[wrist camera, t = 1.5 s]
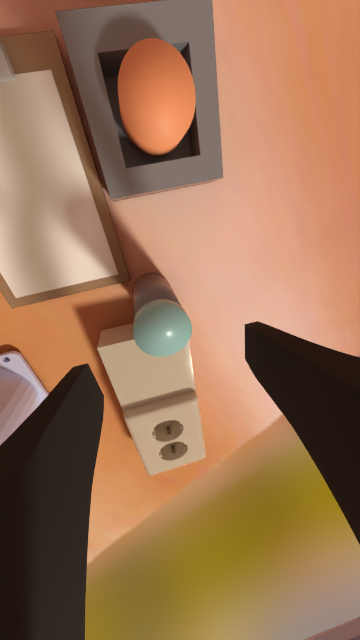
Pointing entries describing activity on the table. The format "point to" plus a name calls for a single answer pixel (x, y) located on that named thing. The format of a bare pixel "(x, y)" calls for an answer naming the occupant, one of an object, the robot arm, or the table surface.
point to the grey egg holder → (103, 101)
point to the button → (155, 96)
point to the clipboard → (48, 182)
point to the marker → (158, 317)
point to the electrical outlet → (155, 400)
